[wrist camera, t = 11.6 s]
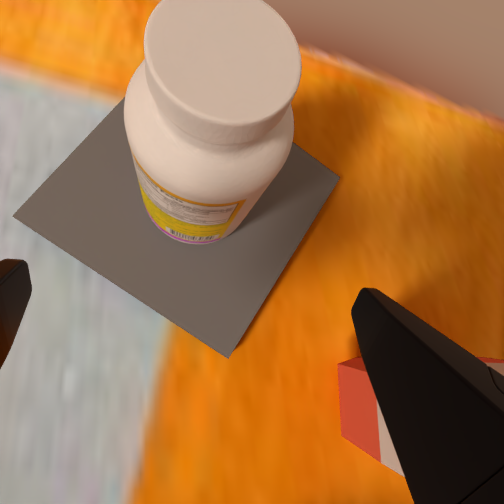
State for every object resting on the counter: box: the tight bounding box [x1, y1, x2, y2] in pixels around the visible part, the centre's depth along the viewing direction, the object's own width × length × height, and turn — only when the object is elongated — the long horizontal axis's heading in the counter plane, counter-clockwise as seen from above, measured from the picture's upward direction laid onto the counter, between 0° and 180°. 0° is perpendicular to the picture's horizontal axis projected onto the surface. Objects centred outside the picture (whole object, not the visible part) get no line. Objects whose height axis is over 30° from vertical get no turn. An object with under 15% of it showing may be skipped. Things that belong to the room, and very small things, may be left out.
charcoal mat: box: [13, 97, 340, 358], centre depth 23 cm, size 15×15×1 cm
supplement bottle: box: [124, 0, 302, 244], centre depth 16 cm, size 7×7×13 cm
